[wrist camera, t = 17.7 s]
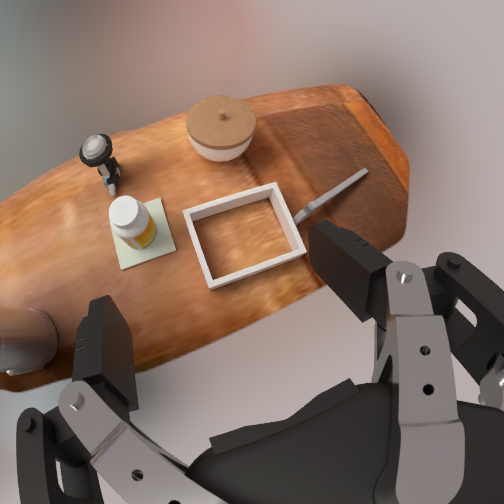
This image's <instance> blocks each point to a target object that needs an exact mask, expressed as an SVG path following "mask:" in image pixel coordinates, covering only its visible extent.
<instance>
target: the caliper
mask: <svg viewBox="0 0 504 504" xmlns="http://www.w3.org/2000/svg"><path fill="white" fill-rule="evenodd" d="M366 173H368V170H367V169H366V168H363V169H362V170H360V171H359V172H357V173H356V174H354V175H353V176H351V177H350V178H348V179H347V180H345V181H344V182H342V183H341V184H340V185H338V186H337V187H335V188H334V189H332V190H331V191H328V192H327V193H325V194H324V195H322V196H321V197H319V198H318V199H316V200H315V201H312V202H310V203H309V204H307V205H306V206H305V207H304V208H303V209H302V210H300V211H299V212H298V214H297V215H296V216H295V217H294V218H293V221H294V223H295V226H297V225H298V224H299V223H300V222H302V221H304V220H305V219H306V218H307V217H308V216H309V215H310V214H311V213H312V212H313V211H315V210H317V209H318V208H320V207H321V206H322V205H324V204H325V203H326V202H327V201H329V200H330V199H331V198H333V197H334V196H336V195H337V194H339V193H340V192H341V191H343V190H344V189H346V188H347V187H348V186H350V185H351V184H353V183H354V182H356V181H357V180H358V179H360V178H361V177H362V176H364V175H365V174H366Z"/></svg>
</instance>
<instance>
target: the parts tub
mask: <svg viewBox="0 0 504 504" xmlns="http://www.w3.org/2000/svg"><path fill="white" fill-rule="evenodd" d="M268 197H269V199H270V201H271V203H272V206H273V208H274V210H275V213H276V215H277V217H278V219H279V222H280V224H281V226H282V229H283V231H284V233H285V236H286V238H287V241H288V243H289V245H290V248H291V250H292V252H289V253H287V254H284V255H281V256H278V257H276V258H273V259H270V260H268V261H265V262H262V263H259V264H257V265H254V266H251V267H248V268H246V269H243V270H240V271H237V272H235V273H232V274H229V275H226V276H224V277H221V278H218V279H215V280H212V277H211V274H210V271H209V269H208V266H207V263H206V260H205V258H204V255H203V252H202V249H201V246H200V243H199V240H198V238H197V235H196V232H195V229H194V226H193V223H192V222H193V221H196V220H199V219H202V218H205V217H208V216H211V215H214V214H217V213H220V212H223V211H226V210H229V209H232V208H236V207H239V206H242V205H245V204H248V203H252V202H255V201H258V200H262V199H265V198H268ZM183 214H184V218H185V221H186V224H187V227H188V230H189V233H190V236H191V239H192V242H193V245H194V248H195V251H196V254H197V257H198V259H199V262H200V265H201V268H202V271H203V274H204V276H205V279H206V282H207V285H208V287H209V290H213V289H216V288H218V287H221V286H224V285H227V284H229V283H232V282H235V281H238V280H240V279H243V278H246V277H248V276H251V275H254V274H256V273H259V272H262V271H265V270H267V269H270V268H273V267H275V266H278V265H280V264H283V263H286V262H288V261H291V260H294V259H296V258H299V257H301V256H302V255H303V254H305V253H306V252H307V251H306V249H305V246H304V244H303V242H302V239H301V237H300V235H299V232H298V230H297V228H296V226H295V223H294V221H293V219H292V216H291V214H290V212H289V210H288V208H287V205H286V203H285V201H284V199H283V196H282V194H281V192H280V190H279V188H278V186H277V183H276V182H274V183H270V184H267V185H263V186H260V187H256V188H253V189H249V190H246V191H243V192H239V193H236V194H233V195H229V196H226V197H223V198H220V199H217V200H213V201H210V202H207V203H204V204H201V205H198V206H195V207H192V208H189V209H186V210H183Z"/></svg>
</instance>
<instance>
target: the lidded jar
mask: <svg viewBox="0 0 504 504" xmlns="http://www.w3.org/2000/svg"><path fill="white" fill-rule="evenodd" d="M256 124H257V120H256V115H255V113H254V111H253V110H252V108H251V107H250V106H249V105H248V104H246V103H245V102H243V101H242V100H239V99H237V98H234V97H229V96H213V97H209V98H206V99H203V100H202V101H200V102H198V103H197V104H195V105H194V106H193V107H192V108H191V110H190V111H189V113H188V115H187V119H186V126H187V130H188V135H189V139H190V142H191V144H192V146H193V148H194V149H195V150H196V152H197V153H199V154H200V155H201V156H202V157H204V158H206V159H208V160H211V161H215V162H225V161H229V160H232V159H235V158H237V157H238V156H240V155H241V154H242V153H243V152H244V151H245V150H246V149H247V147H248V146H249V144H250V142H251V140H252V137H253V134H254V132H255V128H256Z"/></svg>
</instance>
